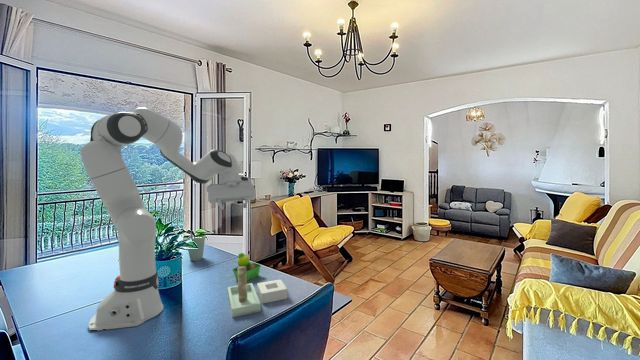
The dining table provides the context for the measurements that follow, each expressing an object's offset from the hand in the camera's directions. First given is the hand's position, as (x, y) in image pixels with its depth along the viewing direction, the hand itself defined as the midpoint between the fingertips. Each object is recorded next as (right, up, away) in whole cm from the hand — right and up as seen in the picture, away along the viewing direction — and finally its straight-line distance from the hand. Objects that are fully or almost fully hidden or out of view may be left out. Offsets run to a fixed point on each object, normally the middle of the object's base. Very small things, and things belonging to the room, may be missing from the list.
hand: (233, 208), depth 128 cm
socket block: (+17, -35, -7) cm, 40 cm away
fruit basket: (+2, -34, +12) cm, 36 cm away
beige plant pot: (-32, -32, +38) cm, 59 cm away
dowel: (+7, -35, -12) cm, 37 cm away
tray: (+7, -35, -12) cm, 38 cm away
